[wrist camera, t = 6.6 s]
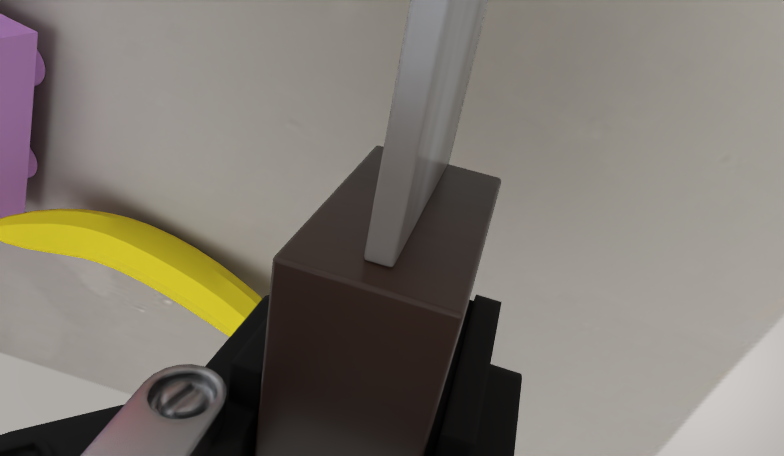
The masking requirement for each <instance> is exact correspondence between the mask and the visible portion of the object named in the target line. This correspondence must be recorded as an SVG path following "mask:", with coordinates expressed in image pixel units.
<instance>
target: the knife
mask: <svg viewBox="0 0 784 456" xmlns="http://www.w3.org/2000/svg"><path fill="white" fill-rule="evenodd" d="M487 3H488V0H411V1H410V6H409V12H408V17H407V23H406V28H405V34H404V39H403V45H402V50H401V56H400V61H399V67H398V72H397V78H396V83H395V89H394V94H393V100H392V105H391V111H390V116H389V122H388V127H387V133H386V138H385V144H384V147H381V146H376V147H375V148H374V149H373V150H372V151H371V152H370V153H369V155H368V156H367V157H366V158H365V159H364V160H363V161H362V162H361V163H360V164H359V165H358V166H357V168H356V169H355V170H354V171H353V172H352V173H351V174H350V175H349V176H348V177H347V178H346V179H345V181H344V182H343V183H342V184H341V185H340V186H339V187H338V188H337V189H336V190H335V191H334V193H333V194H332V195H331V196H330V197H329V198H328V199H327V200H326V201H325V202H324V203H323V204H322V206H321V207H320V208H319V209H318V210H317V211H316V212H315V213H314V214H313V215H312V216H311V217H310V219H309V220H308V221H307V222H306V223H305V224H304V225H303V226H302V227H301V228H300V229H299V230H298V232H297V233H296V234H295V235H294V236H293V237H292V238H291V239H290V240H289V241H288V242H287V244H286V245H285V246H284V247H283V248H282V249H281V250H280V251H279V252H278V253H277V254H276V255H275V257H274V258H273V265H272V275H271V286H270V296H269V307H268V318H267V328H266V339H265V349H264V360H263V370H262V381H261V391H260V402H259V412H258V423H257V433H256V444H255V454H254V456H424V453H425V449H426V446H427V443H428V439H429V436H430V432H431V429H432V426H433V422H434V419H435V416H436V412H437V409H438V405H439V402H440V399H441V395H442V392H443V389H444V385H445V382H446V378H447V375H448V372H449V368H450V365H451V362H452V358H453V355H454V351H455V348H456V345H457V341H458V338H459V335H460V331H461V328H462V324H463V321H464V318H465V314H466V310H467V307H468V303H469V299H470V296H471V292H472V288H473V284H474V281H475V277H476V273H477V270H478V266H479V262H480V259H481V255H482V251H483V247H484V244H485V240H486V236H487V233H488V229H489V225H490V221H491V218H492V214H493V210H494V207H495V203H496V199H497V196H498V192H499V188H500V184H501V179H499V178H497V177H493V176H489V175H486V174H482V173H478V172H475V171H471V170H467V169H463V168H460V167H456V166H452V165H448V163H449V160H450V156H451V152H452V147H453V143H454V139H455V135H456V131H457V127H458V123H459V118H460V114H461V110H462V106H463V102H464V98H465V94H466V90H467V85H468V81H469V77H470V73H471V69H472V65H473V61H474V56H475V52H476V48H477V44H478V40H479V36H480V32H481V27H482V23H483V19H484V15H485V11H486V7H487Z"/></svg>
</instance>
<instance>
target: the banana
mask: <svg viewBox="0 0 784 456" xmlns="http://www.w3.org/2000/svg"><path fill="white" fill-rule="evenodd" d="M0 241H2V242H4V243H7V244H10V245H14V246H18V247H22V248H26V249H31V250H37V251H42V252H48V253H55V254H62V255H68V256H73V257H79V258H84V259H87V260H91V261H94V262H97V263H101V264H103V265H106V266H108V267H111V268H113V269H116V270H118V271H120V272H122V273H124V274H126V275H128V276H131V277H133V278H135V279H137V280H139V281H141V282H143V283H144V284H146V285H148V286H150V287H152V288H153V289H155V290H157V291H159V292H160V293H162V294H164V295H166V296H167V297H169V298H171V299H172V300H174V301H175V302H177V303H179V304H180V305H182V306H184V307H185V308H187V309H188V310H190V311H191V312H193V313H194V314H196V315H197V316H199V317H201V318H202V319H204V320H205V321H207V322H208V323H210V324H211V325H213V326H214V327H216V328H217V329H219V330H220V331H222V332H223V333H225V334H226V335H227V336H229V337H231V335H232V334H233V333H234V332H235V331H236V329H237V328H238V327H239V326H240V325H241V324H242V322H243V321H244V320H245V319H246V318H247V316H248V315H249V314H250V313H251V312H252V311H253V309H254V308H255V307H256V306H257V305H258V303H259V302H260V301H261V300H262V298H261V297H260V296H259V295H258V294H257V293H256V292H254V291H253V290H252V289H251V288H250V287H248V286H247V285H246V284H245V283H244V282H242V281H241V280H240V279H239V278H237V277H236V276H235V275H234V274H232V273H231V272H230V271H228V270H227V269H226V268H224V267H223V266H222V265H220V264H219V263H218V262H216V261H215V260H213V259H212V258H210V257H209V256H207V255H206V254H204V253H203V252H201V251H199V250H198V249H196V248H195V247H193V246H191V245H189V244H187V243H186V242H184V241H182V240H180V239H179V238H177V237H175V236H173V235H171V234H169V233H167V232H164V231H162V230H160V229H158V228H156V227H154V226H151V225H149V224H146V223H143V222H140V221H137V220H134V219H131V218H128V217H124V216H120V215H116V214H112V213H107V212H101V211H94V210H86V209H50V210H38V211H30V212H25V213H19V214H14V215H9V216H6V217H3V218H0Z"/></svg>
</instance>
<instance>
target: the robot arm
mask: <svg viewBox="0 0 784 456" xmlns="http://www.w3.org/2000/svg"><path fill="white" fill-rule="evenodd" d="M269 296H270V295H266V296H265V297H264V298H263V299H262V300H261V301H260V302H259V303H258V305H257V306H256V307H255V308H254V309H253V311H252V312H251V313H250V314H249V315H248V316H247V318H246V319H245V320H244V321H243V322H242V324H241V325H240V326H239V327H238V328H237V329H236V331H235V332H234V333H233V334H232V335H231V337H230V338H229V339H228V340H227V341H226V342H225V344H224V345H223V346H222V347H221V348H220V350H219V351H218V352H217V353H216V354H215V355H214V357H213V358H212V359H211V360H210V361H209V363H208V364H207V365H206V366H205V367H204V366H198V365H192V364H188V365H176V366H172V367H168V368H165V369H163V370H161V371H159V372H157V373H155V374H153V375H152V376H151V377H150V378H148V379H147V380H146V381H145V382H144V383H143V384H142V385H141V386H140V388H139V389H138V390H137V391H136V392H135V393H134V394H133V396H132V397H131V398H130V399H129V400H128V401H127V403H126V404H124V405H120V406H116V407H112V408H108V409H103V410H99V411H95V412H91V413H86V414H82V415H78V416H74V417H70V418H66V419H61V420H57V421H53V422H49V423H45V424H41V425H36V426H33V427H28V428H24V429H20V430H15V431H11V432H8V433H5V434H2V435H0V456H254V454H255V444H256V433H257V423H258V412H259V402H260V391H261V381H262V370H263V360H264V349H265V339H266V328H267V318H268V307H269ZM500 307H501V302H499V301H496V300H492V299H489V298H486V297H482V296H479V295H476V296H475V299H474V301H472V300H469V303H468V307H467V310H466V314H465V318H464V321H463V324H462V328H461V331H460V335H459V338H458V341H457V345H456V348H455V351H454V355H453V358H452V362H451V365H450V368H449V372H448V375H447V378H446V382H445V385H444V389H443V392H442V395H441V399H440V402H439V405H438V409H437V412H436V416H435V419H434V422H433V426H432V429H431V432H430V436H429V439H428V443H427V446H426V449H425V453H424V456H514V450H515V440H516V430H517V421H518V411H519V401H520V391H521V382H522V375H521V374H520V373H517V372H513V371H510V370H507V369H504V368H501V367H498V366H494V365H491V364H490V362H491V356H492V351H493V345H494V340H495V334H496V329H497V323H498V318H499V312H500Z"/></svg>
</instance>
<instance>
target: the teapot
mask: <svg viewBox="0 0 784 456" xmlns="http://www.w3.org/2000/svg"><path fill="white" fill-rule="evenodd" d="M37 39H38V32H37V31H34V30H32V29H30V28H28V27H26V26H24V25H22V24H20V23H18V22H16V21H14V20H12V19H10V18H8V17H6V16H4V15H2V14H0V218H3V217H6V216H9V215H14V214H19V213H25V201H26V188H27V178H29V177H32V176H33V175H34V174H35V173H36V171H37V160H36V157H35V155H34V153H33V151H32V150H31V148H30V136H31V122H32V108H33V95H34V86H36V85H39V84H40V83H41V82H42V81H43V79H44V77H45V65H44V61H43V59H42V57H41V55H40V53H39V52H38V50H37Z"/></svg>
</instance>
